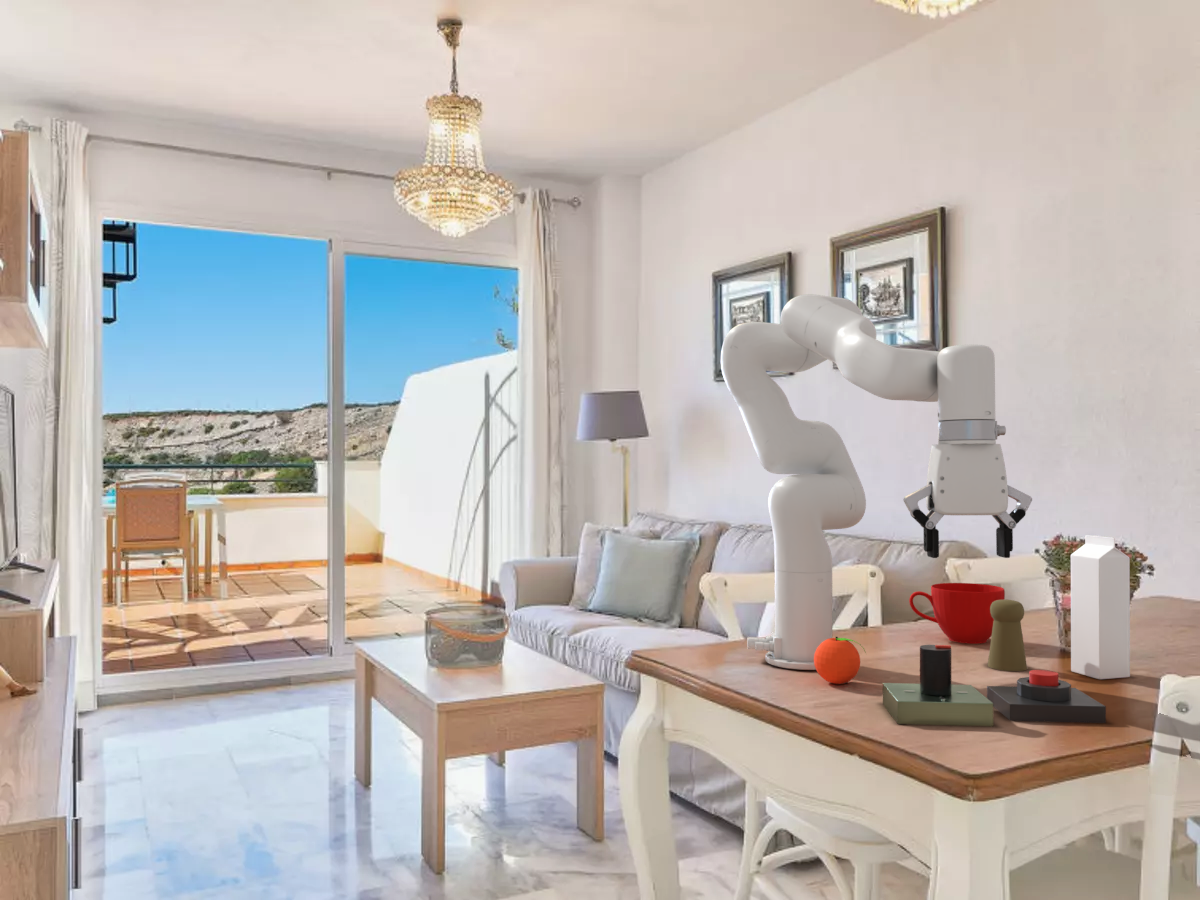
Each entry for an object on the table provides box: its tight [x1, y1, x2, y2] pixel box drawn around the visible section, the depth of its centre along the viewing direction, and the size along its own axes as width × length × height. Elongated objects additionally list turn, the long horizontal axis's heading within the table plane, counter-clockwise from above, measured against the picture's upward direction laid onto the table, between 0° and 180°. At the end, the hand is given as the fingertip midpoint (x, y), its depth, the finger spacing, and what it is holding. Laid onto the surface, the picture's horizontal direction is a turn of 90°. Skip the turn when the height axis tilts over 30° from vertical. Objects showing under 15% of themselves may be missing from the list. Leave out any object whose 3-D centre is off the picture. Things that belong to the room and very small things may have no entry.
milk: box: [1070, 534, 1131, 680], centre depth 152 cm, size 6×6×22 cm
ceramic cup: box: [908, 582, 1006, 645], centre depth 180 cm, size 13×17×10 cm
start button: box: [1028, 669, 1059, 686], centre depth 130 cm, size 4×4×2 cm
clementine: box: [814, 636, 867, 685], centre depth 146 cm, size 8×7×7 cm
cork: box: [987, 598, 1028, 672], centre depth 157 cm, size 6×6×11 cm
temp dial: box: [919, 644, 952, 696], centre depth 128 cm, size 4×4×6 cm
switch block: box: [986, 676, 1107, 724], centre depth 129 cm, size 12×10×4 cm
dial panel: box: [882, 682, 994, 727], centre depth 128 cm, size 12×10×3 cm
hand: (968, 557), depth 133 cm, fingers open, 9 cm apart
